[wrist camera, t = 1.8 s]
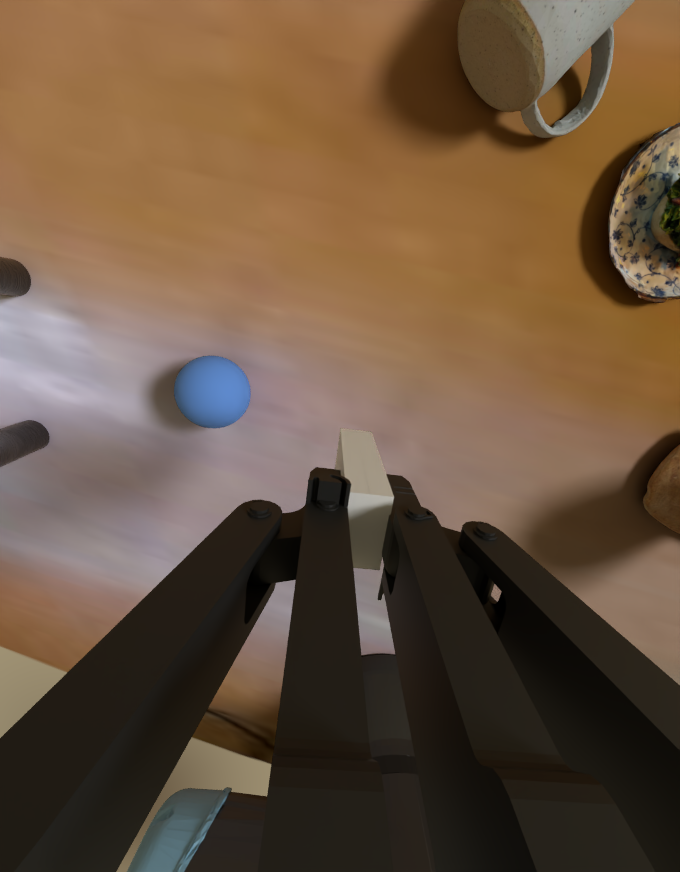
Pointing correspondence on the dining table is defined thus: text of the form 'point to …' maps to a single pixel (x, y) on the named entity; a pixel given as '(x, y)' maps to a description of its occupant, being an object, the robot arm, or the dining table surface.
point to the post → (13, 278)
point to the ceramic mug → (536, 53)
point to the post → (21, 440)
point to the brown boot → (665, 492)
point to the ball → (212, 391)
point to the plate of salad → (649, 219)
